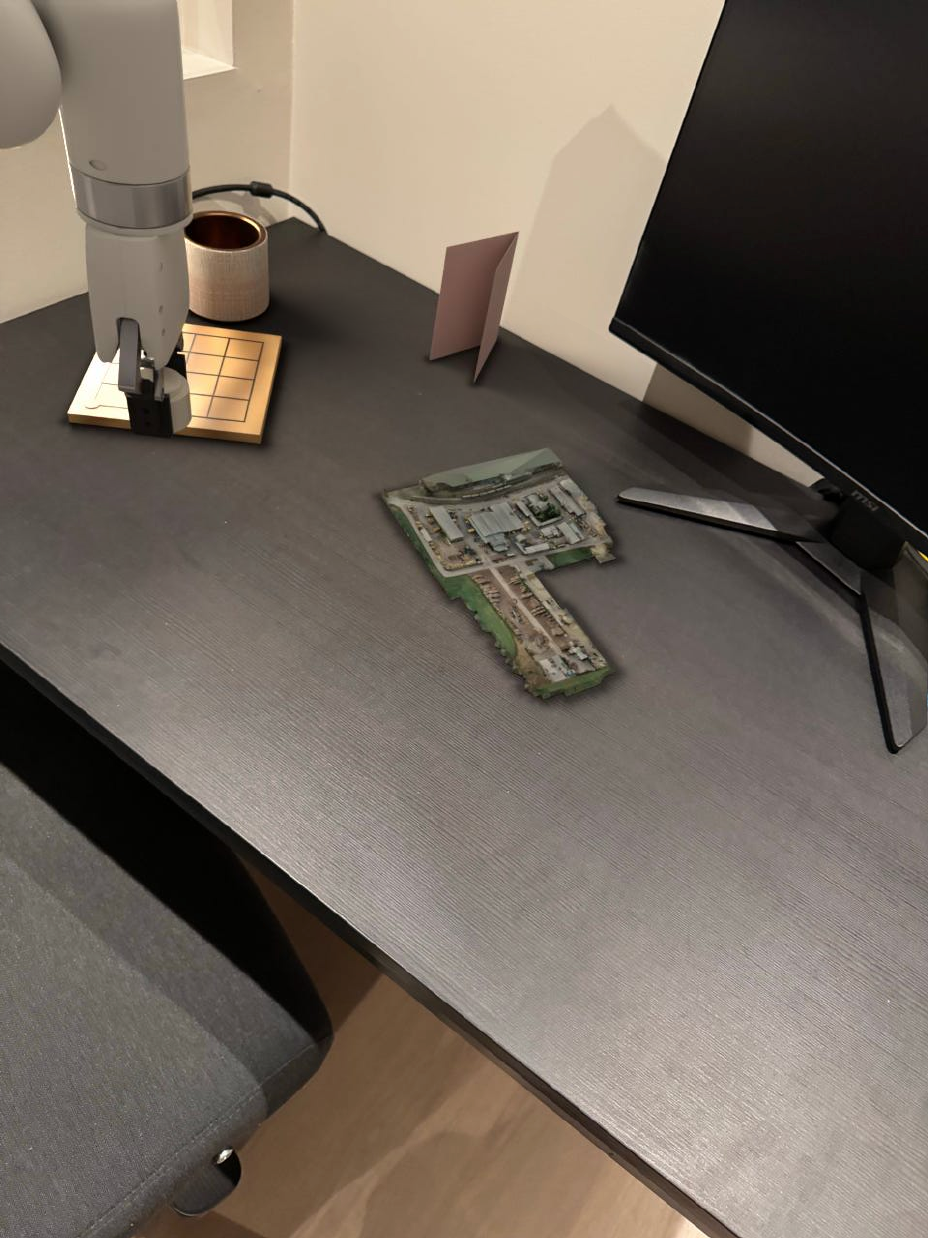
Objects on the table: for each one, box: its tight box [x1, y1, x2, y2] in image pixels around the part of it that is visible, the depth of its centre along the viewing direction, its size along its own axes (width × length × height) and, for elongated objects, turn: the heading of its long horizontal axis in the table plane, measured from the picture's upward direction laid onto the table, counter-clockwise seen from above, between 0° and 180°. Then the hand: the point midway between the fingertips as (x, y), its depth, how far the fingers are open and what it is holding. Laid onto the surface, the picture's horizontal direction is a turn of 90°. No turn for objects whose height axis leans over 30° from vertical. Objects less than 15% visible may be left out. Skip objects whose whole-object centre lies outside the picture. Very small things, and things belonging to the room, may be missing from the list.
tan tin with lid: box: [141, 367, 192, 432], centre depth 69 cm, size 5×5×4 cm
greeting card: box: [429, 230, 520, 383], centre depth 105 cm, size 11×7×15 cm, turn 129°
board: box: [67, 323, 283, 445], centre depth 97 cm, size 20×20×1 cm
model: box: [381, 446, 617, 701], centre depth 86 cm, size 21×30×2 cm
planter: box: [183, 209, 270, 324], centre depth 106 cm, size 11×11×10 cm
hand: (160, 412), depth 70 cm, fingers closed on tan tin with lid, 4 cm apart
